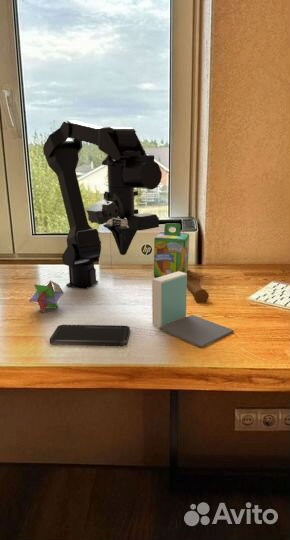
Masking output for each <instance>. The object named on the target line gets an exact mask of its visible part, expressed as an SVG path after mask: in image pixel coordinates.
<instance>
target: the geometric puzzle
mask: <svg viewBox="0 0 290 540" xmlns="http://www.w3.org/2000/svg"><path fill="white" fill-rule="evenodd" d="M46 284H47V285H46ZM34 288H35V293H34V294H33V293H32V292H33V290H32V292H31V297H30V298H29V302H30V303H31V304H35V305H37V306H39V309H40V310H39V312H41V314H44V313H47V312H51V311H52V310H49V309H50V308H52V309H59V306H60V305H58V301H59V299H60V302H59V304H61V300H62V297H63V295H64V290H63V289H62V288H61V286H60V285H59V284H58V283H56V282H54V281H52V280H49V281H48V282H46V283H45V284H43V285H42V284H34ZM32 294H33V295H32ZM46 308H47V309H46Z"/></svg>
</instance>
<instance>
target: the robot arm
mask: <svg viewBox="0 0 290 540" xmlns="http://www.w3.org/2000/svg"><path fill="white" fill-rule="evenodd" d="M83 142H85V143H88V144H92V145H95V146H97V147H98V150H99V151H101V152H102V153H104V154H106V155H107V156H106V157H105V158H104V159H103V161H102V162H101V165H102V166H107V183H108V184H107V187H108V191H107V190H106V191H104V193H103V199H102V200H99V201H96V202H95V203H94V204H91V205H90V206H89V207H87V208H86V209H85V205H84V201H83V200H84V199H83V196H82V192H81V189H80V184H79V179H78V176H77V171H76V170H77V167H78V163H79V159H80V157H79V153H80V152H81V150H82V149H83ZM42 148H43V150H42V152H43V154H44V157H45V160H46V163H47V166H48V167H49V168H50V169H51V170H52V171H53V172H54V173H55V174H56V176H57V181H58V186H59V188H60V193H61V197H62V201H63V205H64V210H65V212H66V213H65V215H66V217H67V222H68V225H69V230H68V234H67V238H66V246H67V247H66V248H65V250H64V252H63V253H62V255H61V260H62V264H63V265H65V266H67V267H68V275H69V276H68V277H69V278H68V279H69V282H68V283H66V285H65V286H66V287H70V288H76V289H82V290H86V289H89V288H91V287H93V286H95V285H97V284H99V280H97V272H96V271H97V269H96V268H95V263H98V262H99V261H100V257H101V252H102V242H101V239H100V236H99V231H98V229H97V228H93V227H91V226H90V224H89V222H90V223H91V224H94V223H95V224H98V225H103V227H104V228H106V230H108V231H110V232H111V234H112V236H113V239H114V241H115V243H116V247H117V249H118V253H119V255H122V256H125V255H127V252H128V250H129V248H130V246H131V244H132V242H133V240H134V238H135V236H136V234H137V232H138V231H146V230H152V229H155V228H159V227H160V217H159V216H158V215H157V214H155V213H149V212H143V213H139V209H138V208H135V197H137V196H139V191H138V190H135V189H143V190H155V189H156V188H157V187H158V186H159V185H160V183H161V182H162V177H163V173H162V170H161V167H160V165H159V164H158V163H157V161H155V155H154V154H147V153H146V150H145V149H144V147H143V145H142V143H141V140H140V138H139V137H138V134H137V131H136V130H135V129H134V128H133V127H126V126H125V127H124V126H119V127H117V126H104V127H103V126H98V125H95V124H91V123H85V122H83V121H82V120H81V121H80V120H65V121H63V122H62V123H61V125H60V126H59V128H57V129H56V130H55V131H53V132H52V133H50V134H49V135H48V137H47V139H46V141H45V143H44V144H43V147H42Z"/></svg>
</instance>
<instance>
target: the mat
mask: <svg viewBox="0 0 290 540" xmlns="http://www.w3.org/2000/svg"><path fill="white" fill-rule="evenodd" d="M159 330H160V331H162V332H164V333H166V334H169V335H171V336H174V337H175V338H177V339H180V340H182V341H185V342H187V343H189V344H192V345H193V346H196V347H198V348H201V349H203V348H204V347H206V346H209V345H211V344H212V343H215V342H216V341H218V340H220V339H222V338H225V337H227V336H228V335H231V334H232V333H234V332H235V331H234V329H232V328H229V327H226V326H223V325H221V324H219V323H215V322H213V321H210V320H208V319H205V318H202V317H199V316H197V315H195V314H191V315H188V316H186V317H184V318H182V319H179V320H177V321H174V322H172V323H170V324H167V325H165V326H162V327H159Z"/></svg>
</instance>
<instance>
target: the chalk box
mask: <svg viewBox="0 0 290 540" xmlns="http://www.w3.org/2000/svg"><path fill="white" fill-rule="evenodd" d="M181 227H182V225H181V223H173V222H172V223H170V222H169V223H165V224H164V229H163V230H164V231H162V232H161V231H160V232H159V233H158V234H157V235H156V236H155V237H154V245H153V246H154V248H153V277H161V276H164V275H168V274H171V273H174V272H178V271H180V272H183V273H187V274H188V270H189V256H190V255H189V252H190V234H189V233H185V232H181V231H182V230H181ZM170 228H174V229H175V231H174V232H173V231H170Z"/></svg>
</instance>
